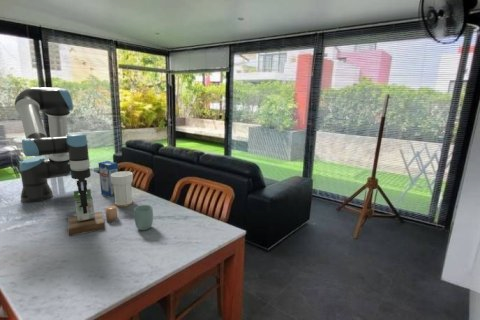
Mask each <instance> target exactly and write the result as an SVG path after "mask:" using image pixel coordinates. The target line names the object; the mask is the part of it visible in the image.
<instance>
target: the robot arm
mask: <svg viewBox="0 0 480 320" xmlns="http://www.w3.org/2000/svg"><path fill="white" fill-rule="evenodd" d="M14 107H15V110H16V111H17V113H19V116H20V119H21V124H22V127H23V132H24V135H25V138H23V139H21V146H22V147H21V148H22V151H23V154H24V155H23V156H25V157H29V158H26V159H24V160H22V161H20V162H19V172H20V176H21V183H22V189H21V191H20V192H21V193H20V201H21V202H23V203H34V202H41V201H44V200H48V199H50V198H52V197H53V196H54V195H53V194H54V193H53V190H52V188H51V187H50V184H49V183H48V179H54V178H55V179H56V178H62V177H68V176H71V177H70V178H71V179H73V180H76V186H77V191H78V192H80V193H79V195H80V200H81V206H79V207H81V210H82V219H83V220H87V219H89V210H88V204H87V196H86V194H87V192H86V191H87V189H88V181H87V179H88V178H90V177H91V175H92V174H91V168H90V166H91V165H90V163H91V162H90V157H89V147H88V146H89V145H88V138H87V135H86V134H84V133H70V134H69V133H68V131H69V129H68V118H67V117H68V116H69V115H70V111H73V110H74V105H73V100H72V97H71V94H70V91H69V90H68V89H67V88H60V87H29V88H26V89H24V90H22V91H21V92H20V93H18V95H17V96H16V97H15V101H14ZM40 111H43V112H44V114H45V115H47V118H48V128H49V137H48V136H47V132H46V129H45V127H44V123H43V121H42V117H41V113H40ZM43 156H48V158H45V157H43Z"/></svg>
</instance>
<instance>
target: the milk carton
mask: <svg viewBox="0 0 480 320" xmlns="http://www.w3.org/2000/svg"><path fill="white" fill-rule="evenodd" d="M97 165H98V172H99V184H100V192H101V193H100V194H101V195H103V194H104V195H103V196H106V197H108V196H109V198H114V197H115V195H114V187H113V184H112V183H111V176H110V175H111V174H112V173H115V172H119V166H118V165H119V163H118V162H114V161H110V160H106V161H101V162H98V164H97ZM113 196H114V197H113Z"/></svg>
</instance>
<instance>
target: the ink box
mask: <svg viewBox="0 0 480 320" xmlns="http://www.w3.org/2000/svg"><path fill="white" fill-rule="evenodd" d="M73 196H74V204H75V205H74V206H75V211H76V212H75V213H76V216H77V220H78V221H83V219H82V210H81V207H79V206H81V200H80V192H78V190H76V191H75V190H74V191H73ZM86 196H87V204H88V210H89V219H92V218H95V215H94V213H95V208H94V200H93V197H92V192H91V188H87V191H86Z"/></svg>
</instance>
